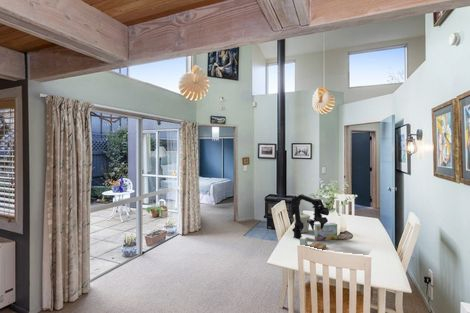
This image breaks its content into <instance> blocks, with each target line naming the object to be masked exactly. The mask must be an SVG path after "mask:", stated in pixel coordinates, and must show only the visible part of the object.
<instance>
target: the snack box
mask: <svg viewBox="0 0 470 313" xmlns="http://www.w3.org/2000/svg"><path fill="white" fill-rule="evenodd" d="M314 240H315V241H317V242H318V241H319V242H320V241H321V242H322V241H330V240H331V241H333V240H338V224H337V223H335V222H327V223H325V224H324V226H323V229H321V225H320V223H314Z"/></svg>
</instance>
